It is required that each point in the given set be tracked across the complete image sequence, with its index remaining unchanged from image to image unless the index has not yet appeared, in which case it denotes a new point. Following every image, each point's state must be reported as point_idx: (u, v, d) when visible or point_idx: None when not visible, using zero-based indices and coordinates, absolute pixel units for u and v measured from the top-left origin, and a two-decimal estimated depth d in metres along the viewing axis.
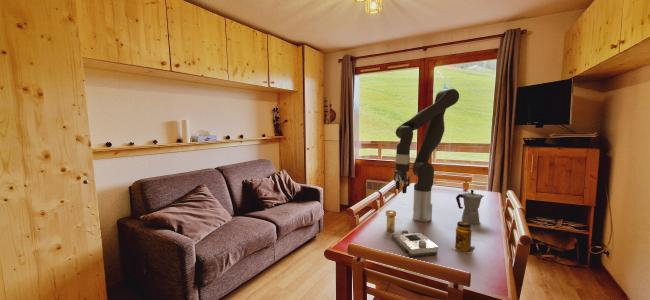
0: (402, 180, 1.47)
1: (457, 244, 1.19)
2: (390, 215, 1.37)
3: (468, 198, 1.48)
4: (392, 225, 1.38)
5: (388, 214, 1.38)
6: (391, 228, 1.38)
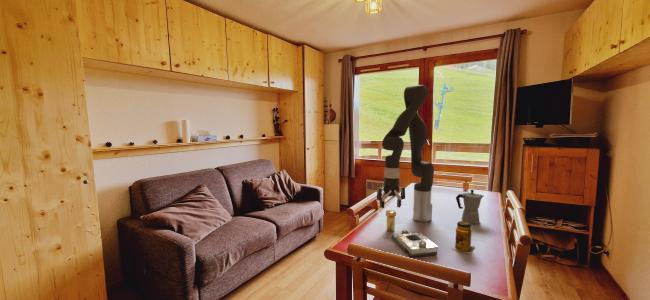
0: (398, 194, 1.38)
1: (457, 244, 1.19)
2: (390, 215, 1.37)
3: (468, 198, 1.48)
4: (392, 225, 1.38)
5: (388, 214, 1.38)
6: (391, 228, 1.38)
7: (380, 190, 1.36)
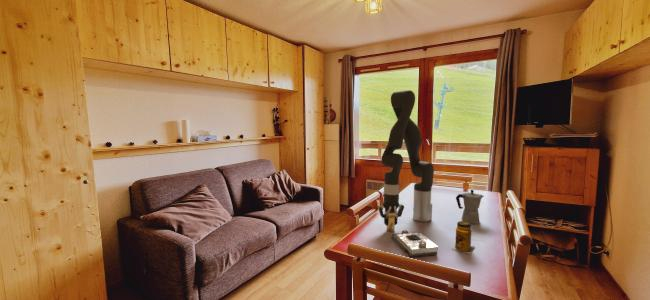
0: (396, 211, 1.39)
1: (457, 244, 1.19)
2: (390, 215, 1.37)
3: (468, 198, 1.48)
4: (392, 225, 1.38)
5: (388, 214, 1.38)
6: (391, 228, 1.38)
7: (380, 208, 1.37)
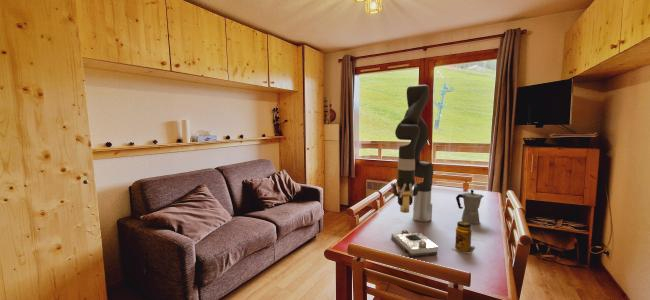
0: (412, 190, 1.25)
1: (457, 244, 1.19)
2: (405, 193, 1.24)
3: (468, 198, 1.48)
4: (407, 205, 1.25)
5: None
6: (406, 208, 1.25)
7: (394, 186, 1.24)
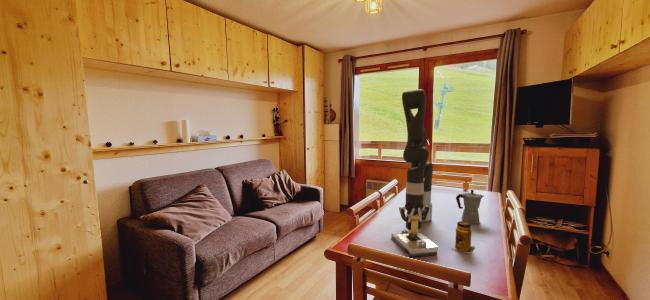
0: (420, 214, 1.21)
1: (457, 244, 1.19)
2: (413, 218, 1.19)
3: (468, 198, 1.48)
4: (415, 229, 1.21)
5: (411, 217, 1.20)
6: (414, 233, 1.21)
7: (402, 211, 1.19)
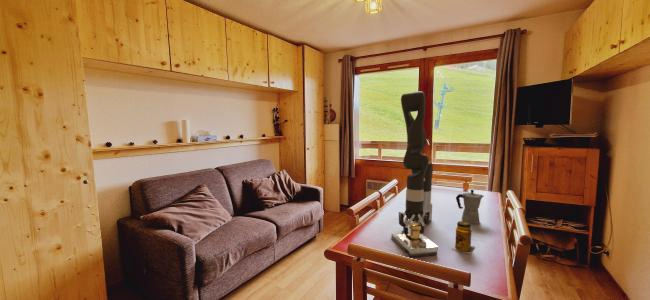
0: (422, 219, 1.21)
1: (457, 244, 1.19)
2: (415, 229, 1.20)
3: (468, 198, 1.48)
4: None
5: (412, 227, 1.21)
6: None
7: (402, 215, 1.19)
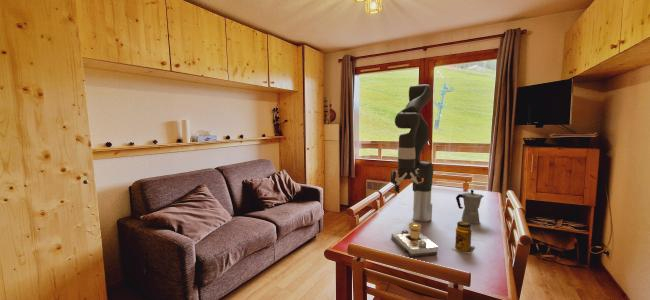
0: (414, 177, 1.24)
1: (457, 244, 1.19)
2: (415, 229, 1.20)
3: (468, 198, 1.48)
4: None
5: (412, 227, 1.21)
6: None
7: (394, 173, 1.22)
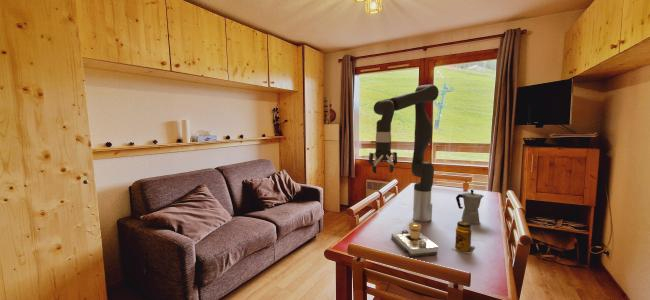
0: (390, 159, 1.37)
1: (457, 244, 1.19)
2: (415, 229, 1.20)
3: (468, 198, 1.48)
4: None
5: (412, 227, 1.21)
6: None
7: (372, 155, 1.35)
